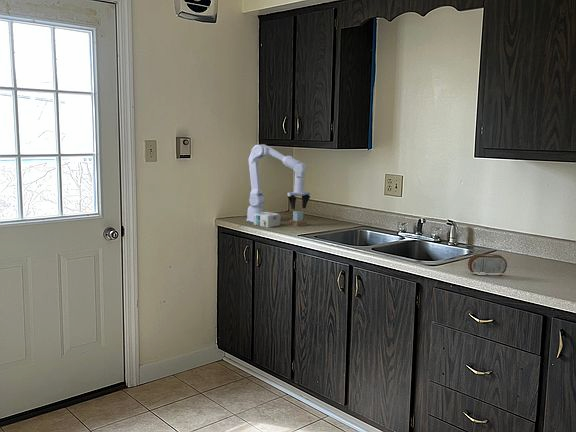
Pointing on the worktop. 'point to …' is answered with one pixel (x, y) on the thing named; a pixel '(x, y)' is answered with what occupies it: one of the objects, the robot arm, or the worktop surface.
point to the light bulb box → (266, 219)
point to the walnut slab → (298, 223)
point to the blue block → (297, 216)
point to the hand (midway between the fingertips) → (298, 208)
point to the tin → (487, 263)
